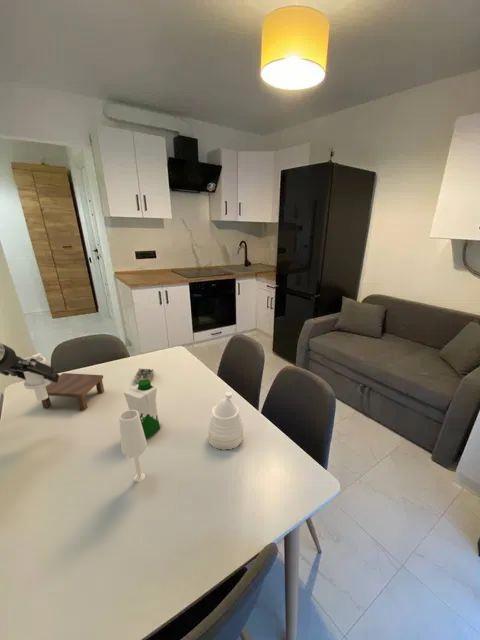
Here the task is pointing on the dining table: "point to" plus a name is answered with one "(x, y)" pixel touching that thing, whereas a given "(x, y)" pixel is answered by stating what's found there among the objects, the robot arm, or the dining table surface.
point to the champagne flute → (132, 438)
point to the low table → (73, 387)
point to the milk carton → (144, 405)
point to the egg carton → (144, 375)
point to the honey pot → (225, 425)
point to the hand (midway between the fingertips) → (45, 378)
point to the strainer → (37, 379)
